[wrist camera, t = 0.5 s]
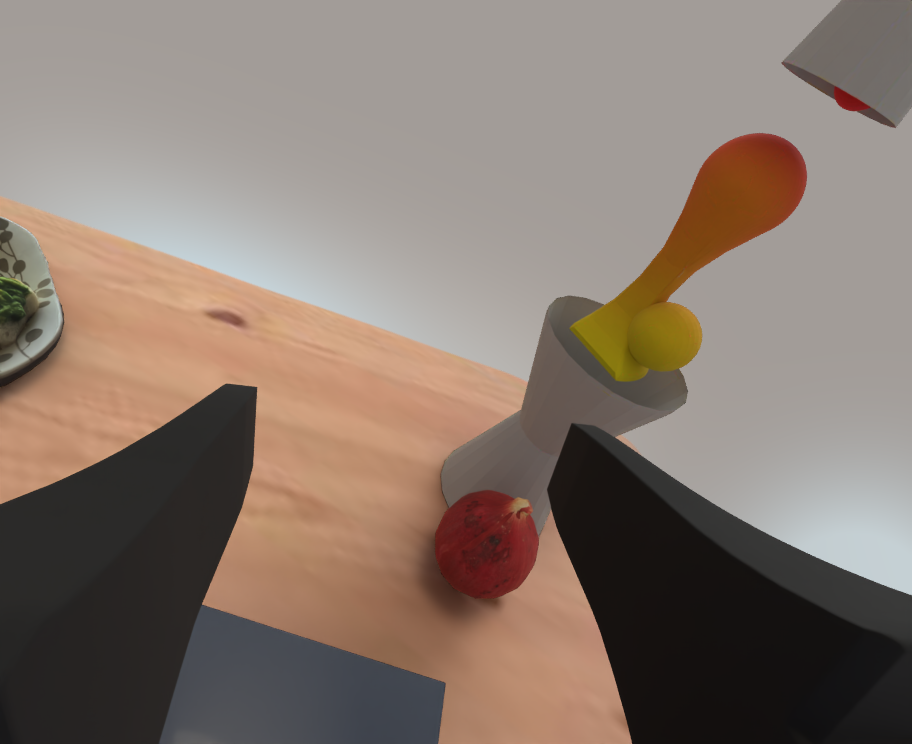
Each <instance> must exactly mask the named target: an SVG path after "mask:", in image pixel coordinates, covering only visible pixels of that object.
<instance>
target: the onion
mask: <svg viewBox="0 0 912 744" xmlns="http://www.w3.org/2000/svg"><path fill="white" fill-rule="evenodd" d="M532 512H533V509H532V505H531V503H530V502H529V500H528V499H522V498H520V497H517V498H516V499H514V498H512V497H511V496H509V495H507V494H505V493H501V492H497V491H493V490H482V491H477V492H473V493H468V494H466V495H465V496H463V497H461V498H460V499H459V500H458V501H457V502H455V503H454V504H453V505H452V506H451V507H450V508H449V509H448V510H447V511H446V512H445V514H444V516H443V518H442V520H441V522H440V524H439V526H438V529H437V531H436V534H435V554H436V559H437V562H438V565H439V568H440V571H441V574H442V575H443V576H444V578H445V579H446V580H447V581H448V582H449V583H450V584H451V586H452V587H453V588H454V589H456V590H458V591H460V592H462V593H464V594H466V595H469V596H471V597H474V598H496V597H499V596H502V595H504V594H506V593H509V592H511V591H513V590H515V589H517V588H518V587H519V586H520V585H521V584H522V583H523V582H524V580H525V579H526V577H527V576H528V574H529V573H530V571H531V570H532V568H533V566H534V563H535V561H536V556H537V551H538V545H539V538H538V534H537V530H536V526H535V523H534V520H533V518H532V517H531V515H530V514H531V513H532Z"/></svg>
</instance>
